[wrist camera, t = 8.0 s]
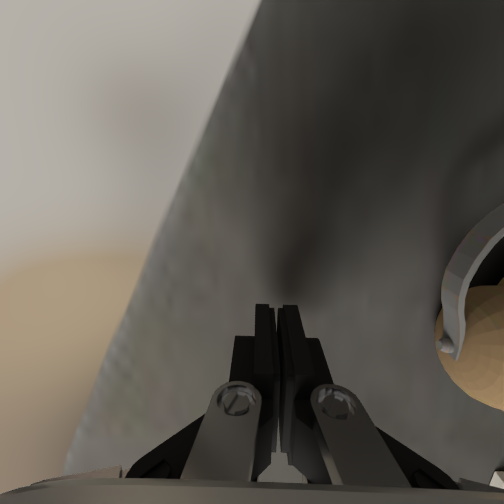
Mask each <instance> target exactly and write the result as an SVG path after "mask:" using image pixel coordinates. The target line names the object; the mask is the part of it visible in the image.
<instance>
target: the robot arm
mask: <svg viewBox="0 0 504 504" xmlns="http://www.w3.org/2000/svg"><path fill="white" fill-rule="evenodd" d="M278 419H279V433H280V446H281V452H282V453H287V456H288V465H293V466H294V467H296V468H297V469H298V470H299V471H300V472H301V473H302V481H303V483H278V482H259V475H260V474H261V473H262V472H263V471H264V470H265V469H266V468H267V467H268V466H269V465H270V464H271V452H276V445H277V428H278ZM0 504H504V489H502V488H498V487H494V486H490V485H486V484H482V483H478V482H474V481H470V480H466V479H463V478H459V481H458V482H454V481H453V480H452V479H451V478H450V477H449V476H448V475H447V474H446V473H444V472H443V471H442V470H441V469H439V468H438V467H436V466H435V465H433V464H432V463H430V462H429V461H427V460H426V459H424V458H423V457H421V456H420V455H418V454H417V453H415V452H414V451H412V450H411V449H409V448H408V447H406V446H405V445H403V444H401V443H400V442H398V441H397V440H395V439H394V438H392V437H391V436H389V435H388V434H386V433H385V432H383V431H382V430H380V429H379V428H377V427H376V426H375V425H374V423H373V422H372V420H371V418H370V417H369V415H368V413H367V412H366V410H365V408H364V407H363V405H362V403H361V402H360V400H359V399H358V398H357V396H356V395H355V394H354V393H352V392H351V391H350V390H348V389H346V388H344V387H342V386H339V385H335V384H334V383H333V380H332V377H331V374H330V371H329V368H328V365H327V362H326V359H325V356H324V353H323V350H322V347H321V344H320V341H319V339H318V338H306V337H305V333H304V330H303V326H302V322H301V318H300V314H299V310H298V306H297V305H283V308H278V317H277V332H276V322H275V312H274V308H269V304H256V309H255V336H235V341H234V348H233V356H232V363H231V370H230V378H229V382H227V383H225V384H223V385H221V386H220V387H219V388H217V389H216V390H215V392H214V394H213V395H212V398H211V400H210V403H209V406H208V408H207V411H206V413H205V414H204V415H203V416H201V417H200V418H198V419H197V420H195V421H194V422H192V423H191V424H189V425H188V426H187V427H185V428H184V429H182V430H181V431H179V432H178V433H176V434H175V435H173V436H172V437H171V438H169V439H168V440H166V441H165V442H163V443H162V444H160V445H159V446H157V447H156V448H155V449H153V450H152V451H150V452H149V453H147V454H146V455H144V456H143V457H141V458H140V459H139V460H138V461H137V462H136V463H135V464H133V466H132V467H131V468H128V469H123V470H122V467H121V465H118V466H113V467H108V468H103V469H98V470H92V471H87V472H82V473H77V474H72V475H66V476H61V477H56V478H51V479H46V480H42V481H39V482H36V483H33V484H31V485H30V486H25V487H20V488H17V489H14V490H11V491H8V492H5V493H2V494H0Z"/></svg>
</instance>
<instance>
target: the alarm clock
mask: <svg viewBox="0 0 504 504" xmlns="http://www.w3.org/2000/svg"><path fill="white" fill-rule="evenodd" d="M503 237H504V202H503V203H502V204H501V205H499V206H498V207H497V208H495V209H494V210H493V211H491V212H490V213H488V214H487V215H486V216H485V217H484V218H483V219H482V220H481V221H480V222H479V223H478V224H476V225H475V226H474V227H473V228H472V229H471V230H470V231H469V232H468V234H467V235H466V236H465V238H464V239H463V241H462V242H461V243H460V245H459V246H458V247H457V249H456V250H455V252H454V254H453V256H452V258H451V260H450V262H449V264H448V265H447V267H446V270H445V273H444V277H443V281H442V285H441V301H442V306H443V307H442V309H441V311H440V313H439V315H438V317H437V320H436V325H435V330H434V332H435V345H436V349H437V354H438V356H439V359H440V361H441V363H442V365H443V367H444V369H445V370H446V372H447V373H448V374H449V376H450V377H451V378H452V380H453V381H454V382H455V383H456V384H457V385H458V386H459V387H460V388H461V389H462V390H464V391H465V392H466V393H467V394H468V395H469V396H471V397H472V398H474V399H476V400H478V401H480V402H483V403H485V404H487V405H489V406H491V407H494V408H497V409H500V410H503V411H504V277H503V279H502V280H501V281H500V282H499V284H498V285H497V286H490V285H487V286H476V287H472V288H469V289H468V287H469V284H470V281H471V280H472V278H473V276H474V274H475V273H476V271H477V269H478V267H479V266H480V264H481V262H482V261H483V260H484V258H485V257H486V256H487V254H488V253H489V252H490V251H491V249H492V248H493V247H494V245H495V244H496V243H497V242H498V241H499V240H500V239H501V238H503Z"/></svg>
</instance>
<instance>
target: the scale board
mask: <svg viewBox="0 0 504 504" xmlns="http://www.w3.org/2000/svg"><path fill="white" fill-rule="evenodd" d="M489 485H490V486H494V487H498V488H502V489H504V472H503V471H495V472H494V475H493V477H492V480H491V482H490V484H489Z"/></svg>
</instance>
